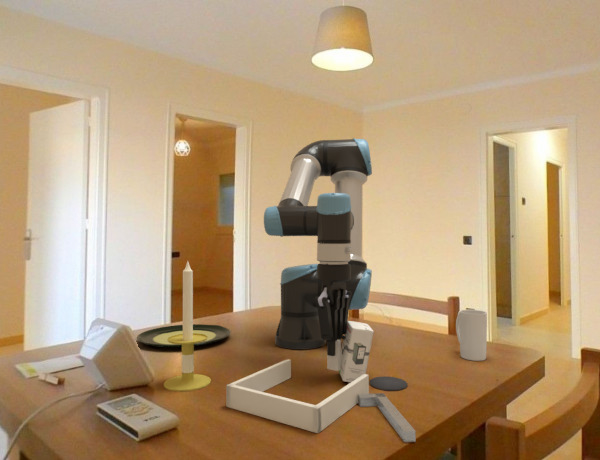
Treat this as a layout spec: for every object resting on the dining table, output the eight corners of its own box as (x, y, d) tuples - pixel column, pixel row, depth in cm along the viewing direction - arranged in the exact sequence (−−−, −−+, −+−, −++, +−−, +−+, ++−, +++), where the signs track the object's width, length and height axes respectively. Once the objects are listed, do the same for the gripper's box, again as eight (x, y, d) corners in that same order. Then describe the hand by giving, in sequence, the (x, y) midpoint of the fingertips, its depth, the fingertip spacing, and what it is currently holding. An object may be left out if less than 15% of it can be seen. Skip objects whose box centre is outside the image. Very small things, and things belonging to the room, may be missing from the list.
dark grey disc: (363, 385, 91) (363, 384, 91) (378, 375, 98) (378, 374, 98) (399, 393, 87) (399, 392, 87) (412, 382, 93) (412, 380, 93)
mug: (493, 360, 110) (492, 313, 110) (471, 362, 108) (470, 314, 108) (467, 350, 119) (466, 307, 120) (446, 352, 117) (446, 308, 118)
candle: (188, 372, 100) (188, 257, 100) (220, 380, 95) (220, 258, 95) (153, 385, 92) (153, 259, 92) (187, 394, 86) (187, 261, 87)
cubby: (226, 406, 80) (226, 385, 80) (287, 376, 97) (287, 359, 97) (317, 433, 69) (317, 408, 69) (368, 394, 86) (368, 374, 86)
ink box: (337, 369, 100) (346, 319, 100) (357, 372, 100) (366, 323, 100) (342, 381, 91) (352, 327, 92) (364, 385, 91) (374, 331, 92)
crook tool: (384, 444, 66) (384, 432, 66) (358, 403, 82) (358, 394, 82) (415, 442, 67) (415, 430, 67) (383, 402, 83) (383, 393, 83)
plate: (182, 328, 150) (182, 321, 150) (248, 336, 138) (248, 328, 138) (115, 346, 126) (115, 337, 126) (188, 358, 113) (188, 349, 113)
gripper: (334, 265, 88) (334, 380, 87) (361, 261, 99) (362, 364, 98) (304, 263, 92) (304, 374, 92) (333, 260, 103) (333, 359, 102)
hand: (334, 369), depth 95 cm, fingers closed
